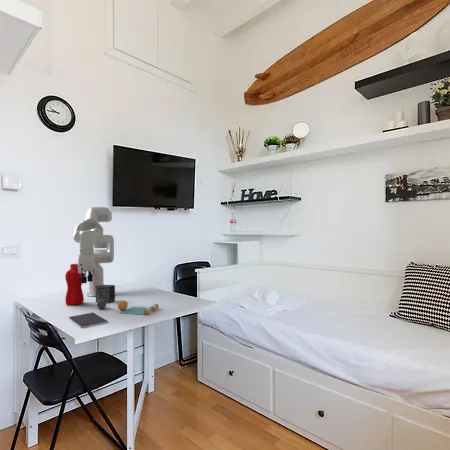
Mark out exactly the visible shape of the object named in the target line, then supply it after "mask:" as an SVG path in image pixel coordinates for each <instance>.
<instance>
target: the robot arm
mask: <svg viewBox="0 0 450 450" xmlns="http://www.w3.org/2000/svg"><path fill="white" fill-rule="evenodd" d="M85 216H86V217H85V220H83V221H80V223H78V224H77V225H76V226H75V228H74V232H73V240H74V242H75V243H78V244H79V254H78V260H77V264H78V273H79V274H80V275H81V279H82V284H83V283H84V284H88V292H87V293H86V296H87V297H96V286H98V285H105V284H104V268H103V266H102V265H101V264H111V263H113V262H114V260H115V259H114V257H115V254H114V253H115V239H114V236H113V235H111V234H104V228H103V226H102V225H101V224H100V223H108V222H111V221H112V220H113V213H112V211H111V209H110V208H108V207H106V206H102V207H101V206H100V207H99V206H94V207H93V206H92V207H89V208H88V210H87V212H86V215H85Z"/></svg>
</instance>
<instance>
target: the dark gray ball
mask: <svg viewBox="0 0 450 450" xmlns="http://www.w3.org/2000/svg"><path fill="white" fill-rule="evenodd" d="M106 306H107V303H106V301H105V300H104V299H100V300H98V301H97V302H96V307H97V308H98V309H100V310H101V309H102V310H103V309H105V308H106Z"/></svg>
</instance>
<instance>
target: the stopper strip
mask: <svg viewBox="0 0 450 450" xmlns="http://www.w3.org/2000/svg"><path fill="white" fill-rule="evenodd" d="M158 309H159V304H158V303H155V304H153V305H151V306H149V307H148V308H147V309H146V310H144V314H143V316H149V315H150V314H152V313H153V312H155V311H157V310H158Z"/></svg>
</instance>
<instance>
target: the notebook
mask: <svg viewBox="0 0 450 450" xmlns="http://www.w3.org/2000/svg"><path fill="white" fill-rule="evenodd" d="M68 318H69V319H68V320H70V319H71V320H72V321H71V320H70V321H71V322H73V323H74V322H75V323H76V324H75V323H74V324H75V325H77V324H78V325H79V326H80V328H81V327H85V326H90V325H94V326H97V325H96V324H99V325H102V324H101V323H104V324H107V323H106V322H109V321H108V320H107V319H106V318H104V317H102V316H100V315H98V314H97V313H95V312H94V311H93V312H88V313H83V314H77V315H71V316H69V317H68ZM78 325H77V326H78ZM79 326H78V327H79ZM90 327H91V326H90ZM85 328H86V327H85Z"/></svg>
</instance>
